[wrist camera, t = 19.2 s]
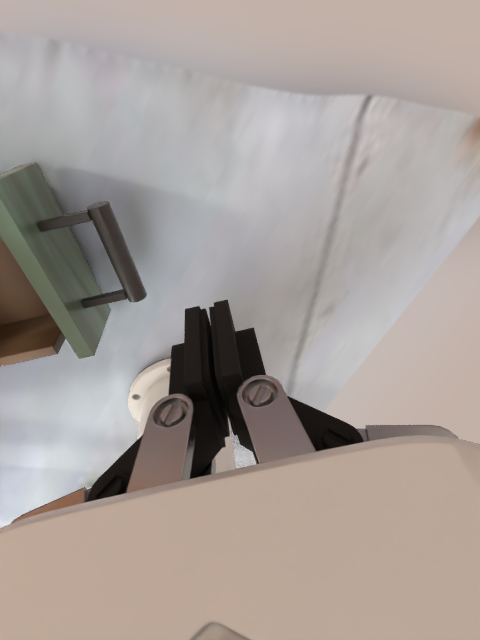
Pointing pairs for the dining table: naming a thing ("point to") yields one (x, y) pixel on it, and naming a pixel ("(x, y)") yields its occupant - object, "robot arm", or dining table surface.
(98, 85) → the dining table surface
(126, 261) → the drawer
